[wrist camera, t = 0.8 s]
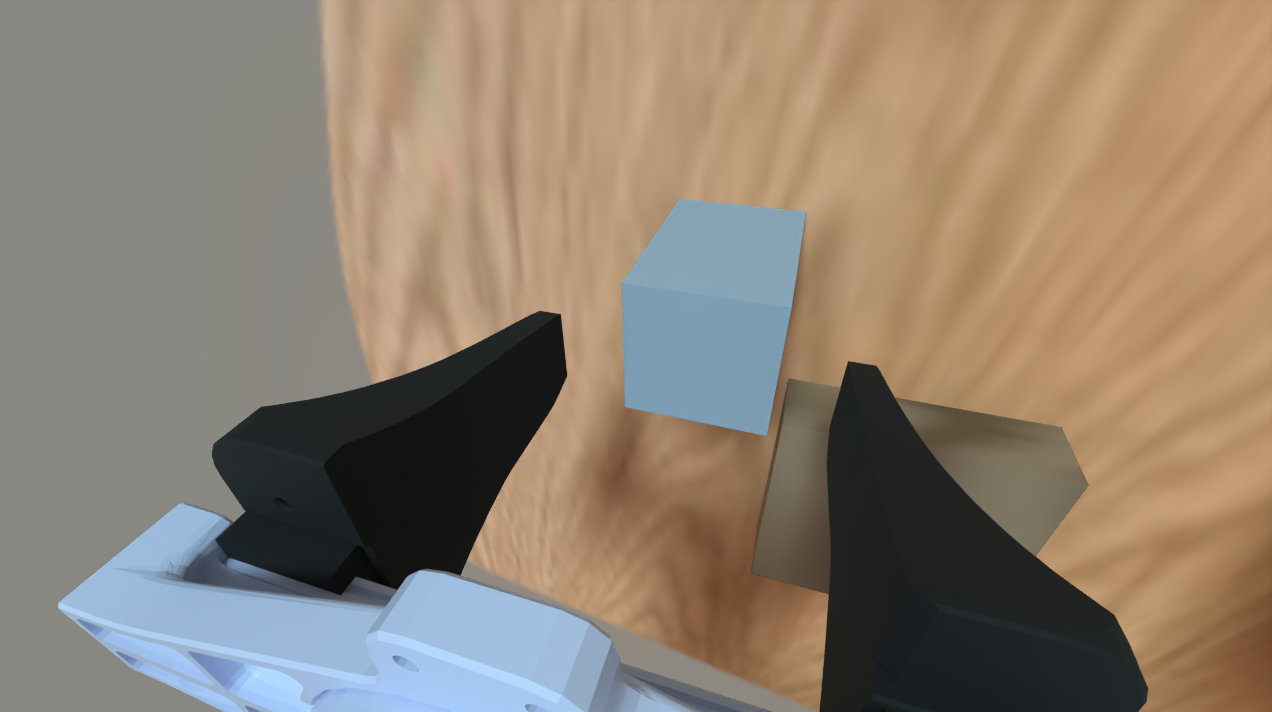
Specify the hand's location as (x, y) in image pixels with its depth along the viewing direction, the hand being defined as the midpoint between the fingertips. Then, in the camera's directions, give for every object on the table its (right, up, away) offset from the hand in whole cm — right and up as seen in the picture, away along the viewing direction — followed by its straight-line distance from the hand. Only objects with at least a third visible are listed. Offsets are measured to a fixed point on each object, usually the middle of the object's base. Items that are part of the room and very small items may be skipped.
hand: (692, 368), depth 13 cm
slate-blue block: (+2, +3, +5) cm, 6 cm away
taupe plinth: (+9, -5, +9) cm, 13 cm away
